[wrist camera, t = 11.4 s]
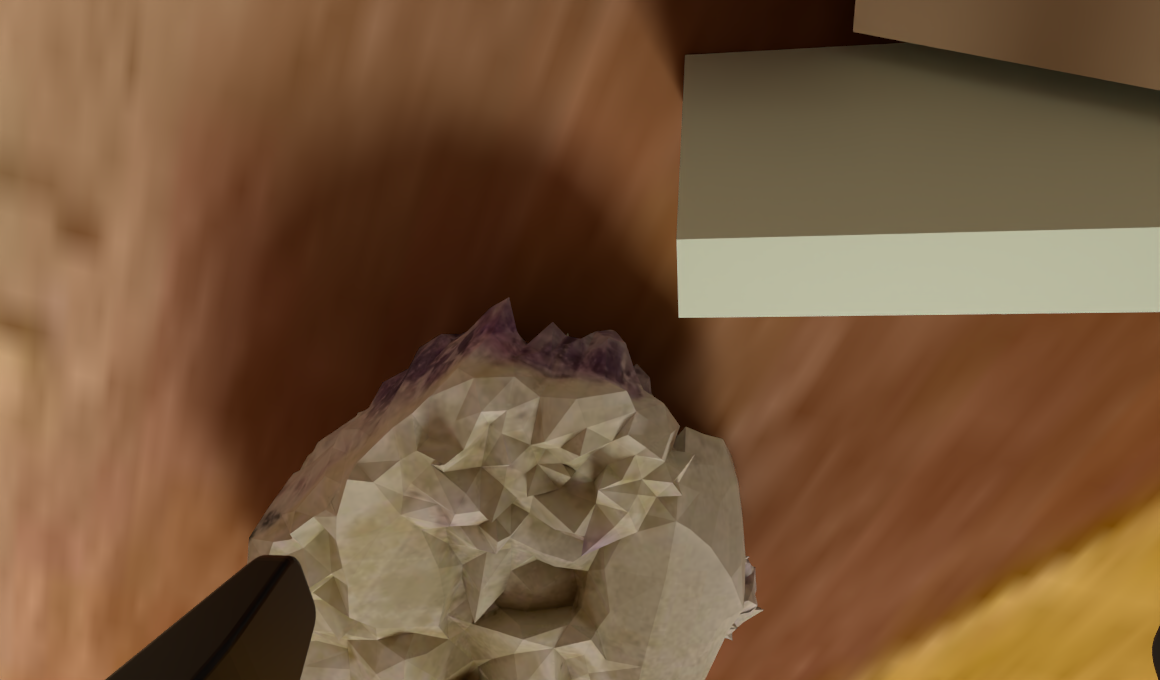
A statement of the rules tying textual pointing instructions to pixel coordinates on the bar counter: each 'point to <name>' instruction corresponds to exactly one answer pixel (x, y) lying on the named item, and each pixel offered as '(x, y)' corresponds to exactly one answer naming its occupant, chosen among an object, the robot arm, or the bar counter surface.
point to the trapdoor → (1031, 32)
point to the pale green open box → (913, 186)
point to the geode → (516, 521)
